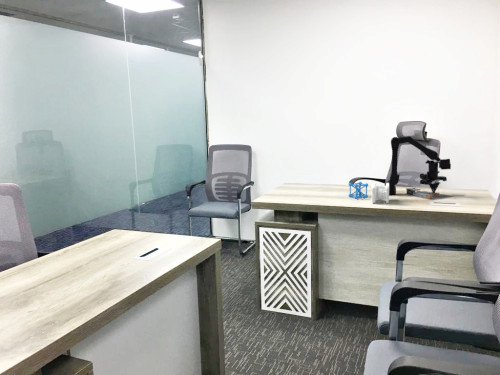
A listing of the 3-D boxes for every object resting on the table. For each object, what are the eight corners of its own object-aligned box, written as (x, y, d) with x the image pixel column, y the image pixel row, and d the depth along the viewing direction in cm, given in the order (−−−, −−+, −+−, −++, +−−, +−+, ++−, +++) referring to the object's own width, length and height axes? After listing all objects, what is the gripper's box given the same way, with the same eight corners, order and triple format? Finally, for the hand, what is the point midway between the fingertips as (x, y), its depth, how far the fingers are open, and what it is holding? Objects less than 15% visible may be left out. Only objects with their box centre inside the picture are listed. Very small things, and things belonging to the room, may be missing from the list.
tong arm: (416, 194, 275) (416, 191, 275) (417, 194, 277) (417, 190, 276) (437, 196, 266) (437, 193, 265) (438, 196, 267) (439, 192, 267)
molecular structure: (347, 196, 280) (347, 182, 278) (360, 195, 283) (360, 181, 281) (355, 199, 271) (355, 184, 269) (368, 198, 273) (369, 183, 272)
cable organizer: (388, 204, 252) (389, 186, 250) (371, 204, 255) (371, 185, 253) (388, 199, 266) (389, 182, 264) (372, 199, 269) (372, 182, 267)
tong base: (406, 194, 278) (406, 187, 278) (412, 193, 281) (412, 186, 280) (429, 199, 261) (429, 191, 260) (435, 198, 263) (435, 190, 262)
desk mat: (432, 201, 257) (432, 200, 257) (402, 194, 280) (402, 193, 280) (454, 197, 266) (454, 196, 265) (423, 191, 288) (423, 190, 288)
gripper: (433, 167, 278) (433, 189, 281) (413, 170, 271) (413, 193, 273) (447, 168, 268) (447, 191, 271) (426, 172, 261) (427, 195, 263)
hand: (433, 193), depth 270 cm, fingers closed
